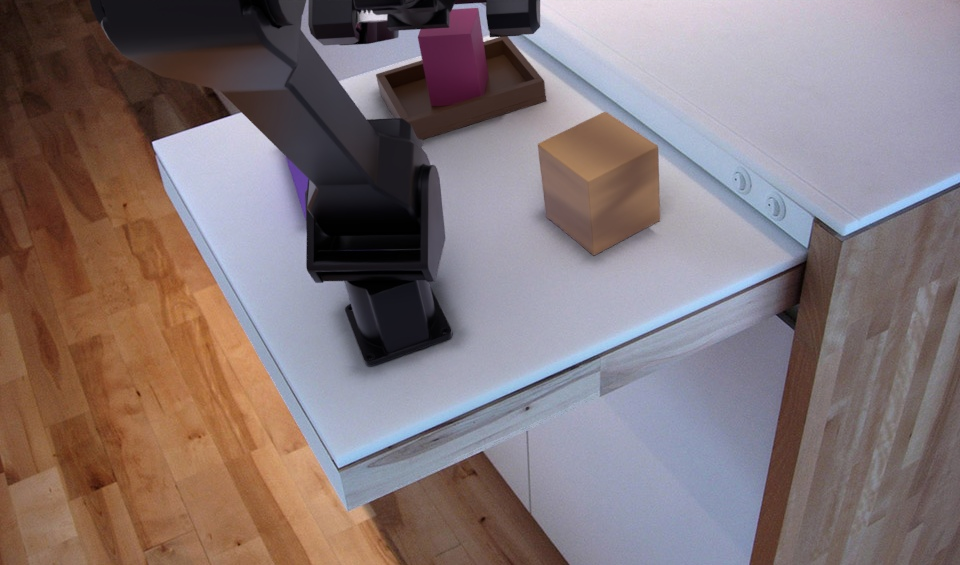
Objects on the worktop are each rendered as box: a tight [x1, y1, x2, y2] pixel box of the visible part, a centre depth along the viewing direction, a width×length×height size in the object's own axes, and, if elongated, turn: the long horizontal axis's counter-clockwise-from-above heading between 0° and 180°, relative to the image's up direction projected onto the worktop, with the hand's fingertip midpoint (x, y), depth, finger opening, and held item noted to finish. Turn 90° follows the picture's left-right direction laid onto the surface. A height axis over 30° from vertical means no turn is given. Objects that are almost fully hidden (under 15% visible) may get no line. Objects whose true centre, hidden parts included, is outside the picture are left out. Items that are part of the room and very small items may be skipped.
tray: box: [375, 36, 547, 140], centre depth 96 cm, size 10×13×2 cm
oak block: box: [537, 111, 661, 256], centre depth 78 cm, size 6×6×7 cm
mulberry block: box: [417, 7, 489, 106], centre depth 94 cm, size 5×5×7 cm
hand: (446, 29), depth 91 cm, fingers open, 9 cm apart
